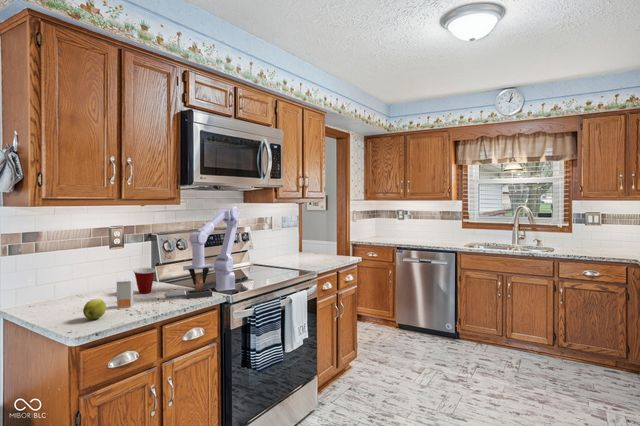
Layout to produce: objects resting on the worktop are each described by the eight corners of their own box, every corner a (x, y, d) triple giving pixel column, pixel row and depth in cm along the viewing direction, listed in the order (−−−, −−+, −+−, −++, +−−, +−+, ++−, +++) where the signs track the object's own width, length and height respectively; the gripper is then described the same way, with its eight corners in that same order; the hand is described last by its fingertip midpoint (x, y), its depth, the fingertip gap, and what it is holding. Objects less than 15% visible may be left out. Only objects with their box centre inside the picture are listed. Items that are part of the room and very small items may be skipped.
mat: (183, 292, 212) (183, 290, 212) (185, 295, 204) (185, 294, 204) (165, 293, 208) (165, 292, 208) (166, 297, 200) (166, 296, 200)
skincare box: (116, 308, 182) (116, 281, 182) (119, 305, 187) (118, 279, 186) (131, 307, 184) (130, 280, 183) (133, 304, 188) (133, 278, 187)
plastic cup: (141, 296, 204) (141, 272, 204) (129, 293, 210) (128, 270, 210) (161, 291, 213) (160, 268, 212) (148, 289, 219) (148, 266, 219)
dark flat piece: (209, 292, 211) (209, 286, 211) (212, 296, 203) (212, 290, 203) (185, 295, 206) (185, 288, 206) (187, 299, 198) (187, 292, 198)
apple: (110, 315, 172) (109, 296, 171) (99, 322, 162) (98, 302, 162) (91, 315, 171) (90, 296, 171) (79, 322, 162) (78, 302, 162)
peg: (202, 288, 206) (202, 273, 206) (204, 290, 202) (203, 274, 202) (194, 289, 204) (194, 273, 204) (195, 291, 201) (195, 275, 200)
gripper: (184, 258, 196) (184, 286, 197) (214, 256, 202) (215, 283, 203) (182, 256, 202) (183, 283, 203) (212, 254, 208) (212, 281, 209)
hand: (199, 283), depth 203 cm, fingers closed on peg, 4 cm apart
